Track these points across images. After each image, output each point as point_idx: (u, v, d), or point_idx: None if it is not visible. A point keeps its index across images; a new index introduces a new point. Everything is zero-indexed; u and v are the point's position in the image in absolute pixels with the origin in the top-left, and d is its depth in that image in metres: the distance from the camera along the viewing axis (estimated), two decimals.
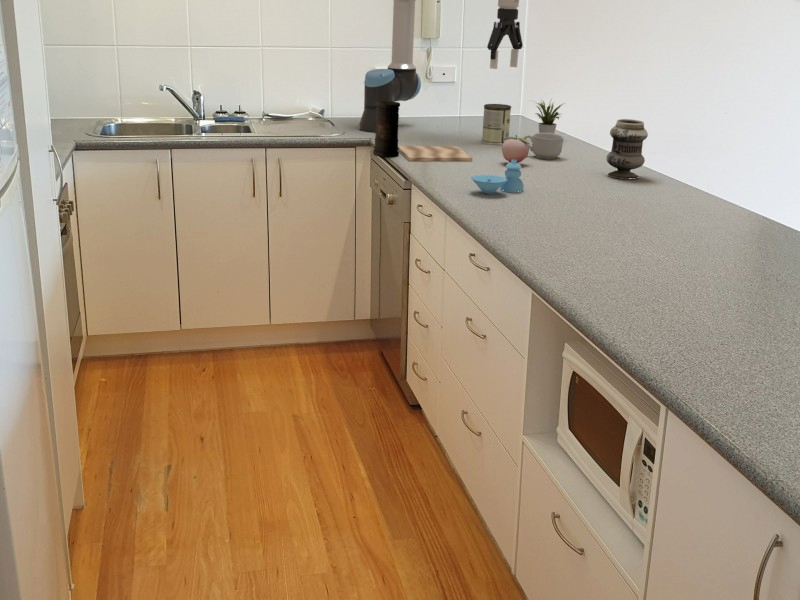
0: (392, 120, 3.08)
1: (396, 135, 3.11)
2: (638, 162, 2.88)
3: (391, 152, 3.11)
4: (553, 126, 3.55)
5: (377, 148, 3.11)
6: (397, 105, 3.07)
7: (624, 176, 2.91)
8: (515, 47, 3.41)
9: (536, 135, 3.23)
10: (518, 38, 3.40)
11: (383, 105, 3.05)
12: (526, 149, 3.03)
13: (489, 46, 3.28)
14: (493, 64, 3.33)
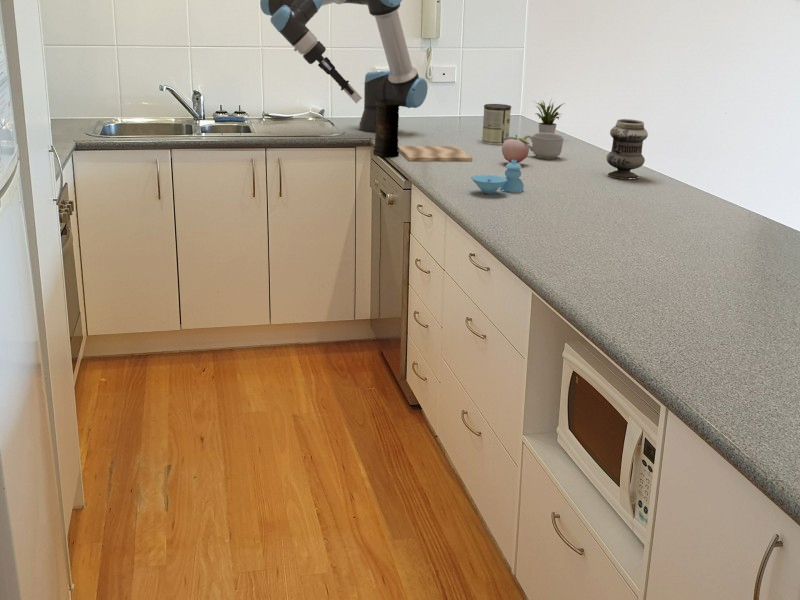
0: (392, 120, 3.08)
1: (396, 135, 3.11)
2: (638, 162, 2.88)
3: (391, 152, 3.11)
4: (553, 126, 3.55)
5: (377, 148, 3.11)
6: (397, 105, 3.07)
7: (624, 176, 2.91)
8: None
9: (536, 135, 3.23)
10: None
11: (383, 105, 3.05)
12: (526, 149, 3.03)
13: None
14: None
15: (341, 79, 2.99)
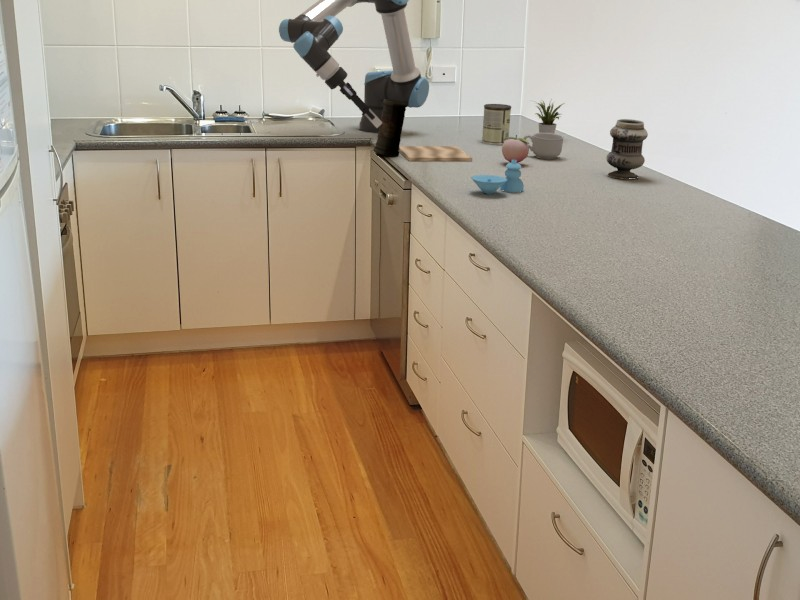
0: (397, 120, 3.08)
1: (399, 135, 3.11)
2: (638, 162, 2.88)
3: (392, 151, 3.11)
4: (553, 126, 3.55)
5: (378, 145, 3.11)
6: (404, 105, 3.07)
7: (624, 176, 2.91)
8: None
9: (536, 135, 3.23)
10: None
11: (391, 103, 3.05)
12: (526, 149, 3.03)
13: None
14: None
15: (362, 104, 3.03)
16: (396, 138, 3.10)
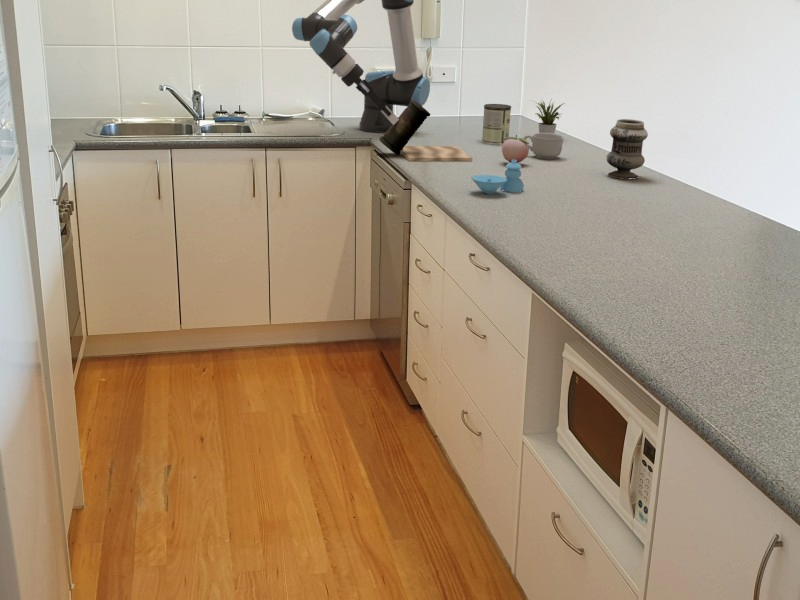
0: (415, 123, 3.09)
1: (409, 137, 3.12)
2: (638, 162, 2.88)
3: (396, 148, 3.11)
4: (553, 126, 3.55)
5: (386, 136, 3.10)
6: (428, 114, 3.09)
7: (624, 176, 2.91)
8: None
9: (536, 135, 3.23)
10: None
11: (417, 105, 3.07)
12: (526, 149, 3.03)
13: None
14: None
15: (379, 101, 3.03)
16: (405, 139, 3.11)
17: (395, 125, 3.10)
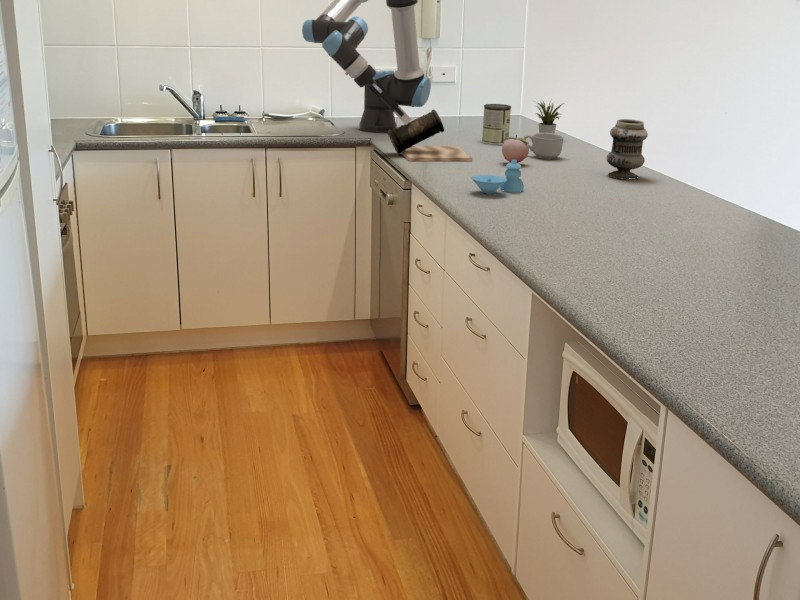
0: (428, 131, 3.11)
1: (416, 142, 3.13)
2: (638, 162, 2.88)
3: (400, 145, 3.11)
4: (553, 126, 3.55)
5: (396, 131, 3.11)
6: (442, 129, 3.12)
7: (624, 176, 2.91)
8: None
9: (536, 135, 3.23)
10: None
11: (437, 116, 3.10)
12: (526, 149, 3.03)
13: None
14: None
15: (392, 101, 3.04)
16: (412, 141, 3.12)
17: (408, 124, 3.12)
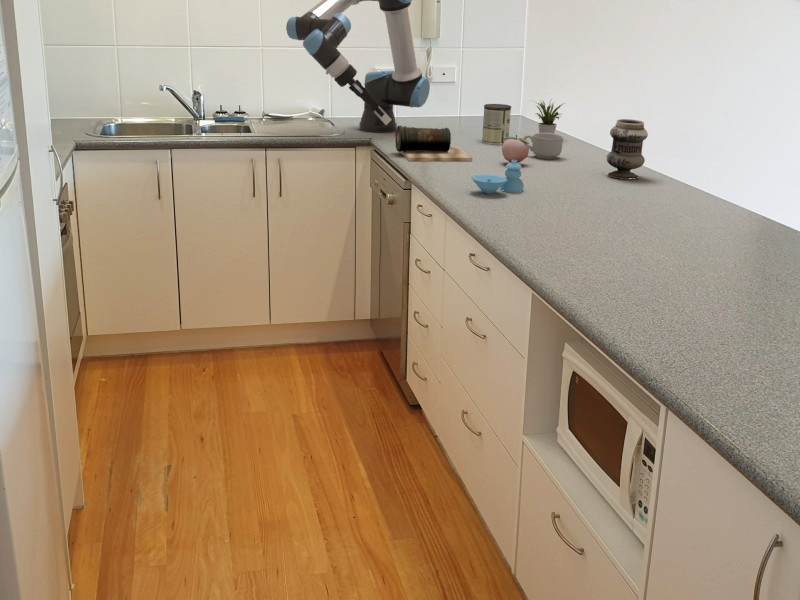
0: (435, 142, 3.14)
1: (419, 148, 3.14)
2: (638, 162, 2.88)
3: (405, 142, 3.11)
4: (553, 126, 3.55)
5: (407, 128, 3.12)
6: (448, 148, 3.16)
7: (624, 176, 2.91)
8: None
9: (536, 135, 3.23)
10: None
11: (449, 134, 3.14)
12: (526, 149, 3.03)
13: None
14: None
15: (372, 102, 3.03)
16: (417, 145, 3.13)
17: (420, 129, 3.14)
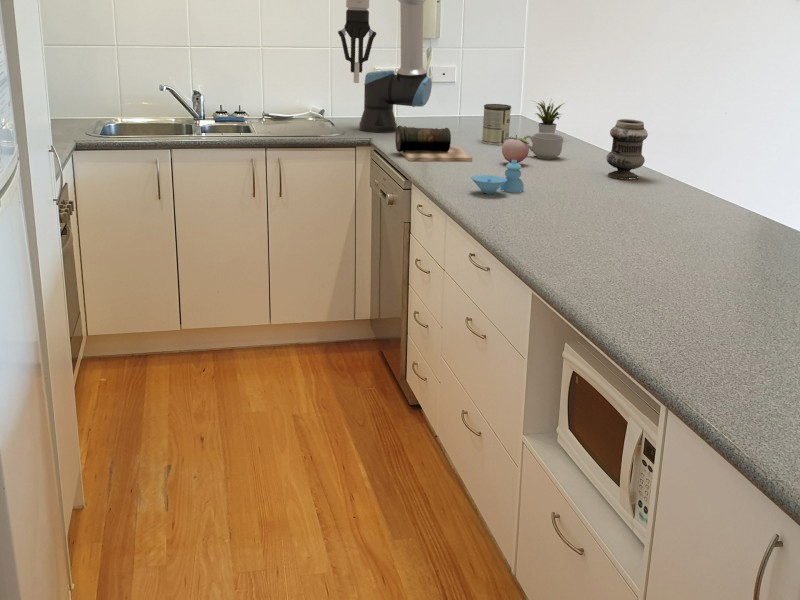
0: (435, 142, 3.14)
1: (419, 148, 3.14)
2: (638, 162, 2.88)
3: (405, 142, 3.11)
4: (553, 126, 3.55)
5: (407, 128, 3.12)
6: (448, 148, 3.16)
7: (624, 176, 2.91)
8: (359, 59, 3.04)
9: (536, 135, 3.23)
10: (366, 49, 3.03)
11: (449, 134, 3.14)
12: (526, 149, 3.03)
13: (346, 59, 3.04)
14: (354, 77, 3.06)
15: None
16: (417, 145, 3.13)
17: (420, 129, 3.14)
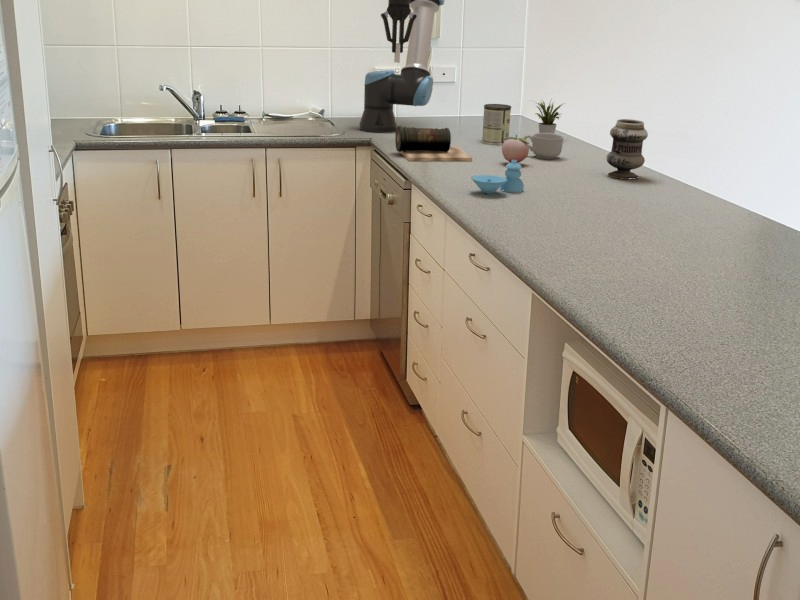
0: (435, 142, 3.14)
1: (419, 148, 3.14)
2: (638, 162, 2.88)
3: (405, 142, 3.11)
4: (553, 126, 3.55)
5: (407, 128, 3.12)
6: (448, 148, 3.16)
7: (624, 176, 2.91)
8: (399, 40, 3.25)
9: (536, 135, 3.23)
10: (407, 30, 3.24)
11: (449, 134, 3.14)
12: (526, 149, 3.03)
13: None
14: (395, 57, 3.27)
15: None
16: (417, 145, 3.13)
17: (420, 129, 3.14)
